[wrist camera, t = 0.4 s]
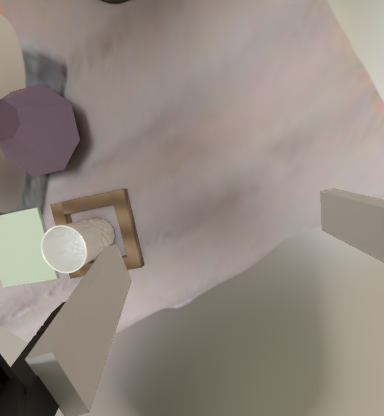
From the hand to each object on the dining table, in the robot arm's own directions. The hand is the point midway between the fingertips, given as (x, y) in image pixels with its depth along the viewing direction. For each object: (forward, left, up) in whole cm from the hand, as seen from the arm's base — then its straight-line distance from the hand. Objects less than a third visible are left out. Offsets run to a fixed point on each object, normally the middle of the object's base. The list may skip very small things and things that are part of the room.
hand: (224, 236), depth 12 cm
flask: (-19, -29, -25) cm, 43 cm away
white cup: (+2, -25, -25) cm, 36 cm away
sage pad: (+2, -44, -25) cm, 51 cm away
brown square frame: (+2, -25, -25) cm, 35 cm away
